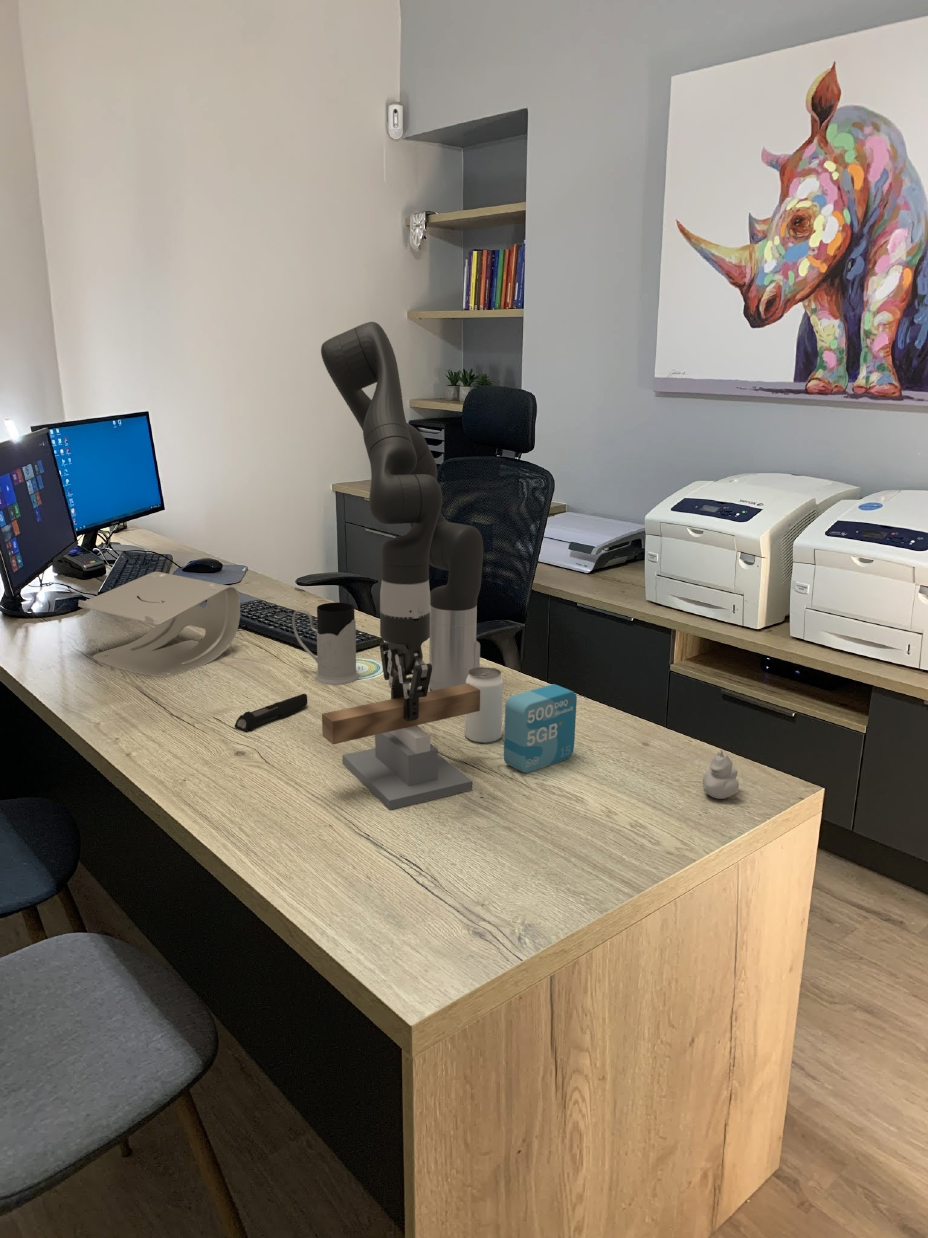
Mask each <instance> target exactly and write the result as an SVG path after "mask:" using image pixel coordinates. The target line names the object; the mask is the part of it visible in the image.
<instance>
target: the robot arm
mask: <svg viewBox="0 0 928 1238" xmlns="http://www.w3.org/2000/svg"><path fill="white" fill-rule="evenodd" d="M390 341H391V340H390V339H389V337H388V335H387V333H386V332H385V331H384V329H383V327H382V326H381V325H380V323H377V322H375V321H369V322H364V323H362V324H360V325H358V326H356V327H353V328H351V329H348V330H346V331H343V332H342V333H340V334H337V335H334V336H333V337H331V338H328V339H326V340H325V341H324V342H323V343H322V344H321V346H320V347H321V348H320V355H321V358H322V362H323V365H324V366H325V368H326V371H327V373H328V375H329V376H330V378H331V380H332V381H333V383H334V385H335V387H336V388H337V390H338V393H340V395H341V396H342V398H343V401H345V404H346V405H347V406H348V408H349V410H350V411H351V412H352V415H353V416H354V418H355V420H356V421H357V423H358V424H359V427H360V428H361V430H362V436H363V437H362V438H363V443H364V447H365V449H366V453H367V456H368V459H369V463H370V472H371V473H370V474H371V476H370V477H371V478H370V480H371V481H370V488H369V489H370V490H369V496H368V503H369V504H368V505H369V510H370V513H371V515H372V517H374V518H375V519H376V521H378V522H379V523H381V524H385V525H397V524H399V525H402V524H403V525H404V524H409V525H410V529H409V531H408V532H407V533H405V534H404V535H400V536H397V537H394V538H391V539H388V540H386V541H385V542H384V543H383V544H382V548H381V583H380V584H381V585H380V592H379V595H380V596H379V619H380V620H379V627H380V628H379V635H380V638H381V640H382V641H383V642H380V643H379V650H380V651H379V652H380V653H379V654H380V656H381V657H380V659H381V660H380V661H381V667H382V671H383V673H382V674H383V678H384V680H385V681H388V686H389V688H390V695H391V696H390V699H395V698H400V697H405V698H404V719H405V720H406V721H413V720H417V719H418V717H419V697H426V696H427V693H428V692H429V690H430V691H434V690H438V689H443V688H448V687H453V686H458V685H462V684H466V679H467V677H468V675H469V673H468V672H469V670H470V669H472V668H475V667H481V664H480V663H481V662H480V661H481V660H480V659H481V644H480V642H479V641H478V640H477V617H478V615H477V613H478V610H477V607H478V606H477V605H478V597H479V594H480V591H481V586H482V585H481V584H482V574H483V562H484V540H483V537H482V534H481V531H479V529H477V528H476V527H475V526H473V525H468V524H463V523H456V522H450V521H448V520H447V519H446V518H445V517H444V515H443V514H442V513H441V512H442V511H441V509H442V503H443V491H442V489H441V488H442V487H441V485H440V484H439V482H438V465H437V462H436V460H435V457H434V455H433V452H431V449H430V447H429V445H428V443H427V441H426V439H425V437H424V435H423V434H422V433H421V432H420V430H418V429H417V428H416V427H414V426H413V425H411V424H410V423H408V422H407V419H406V416H405V410H404V402H403V392H402V386H401V379H400V374H399V367H398V363H397V357H396V354H395V351H394V348H393V346H392V343H391V342H390ZM374 384H376V385H375V386H376V387H375V389H374V393H373V395H372V399H371V398H370V397H369V396H368V395H367V393H366V392H365V391H364V390H363V389H365V388H367V387H369V386H372V385H374ZM430 566H432V567H434V568H436V569H440V570H444V571H448V579H447V584H445V585H440V586H436V587H435V588H433V589H432V590H430ZM428 640H429V644H428V645H429V649H428V650H429V653H428V654H429V655H428V656H429V661H428V663H425V661H424V660H423V659H424V658H423V657H424V656H423V655H424V654H423V650H422V649H423V648H422V644H424V643H425V642H426V641H428ZM410 675H412V676H410ZM408 676H409V677H408Z"/></svg>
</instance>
